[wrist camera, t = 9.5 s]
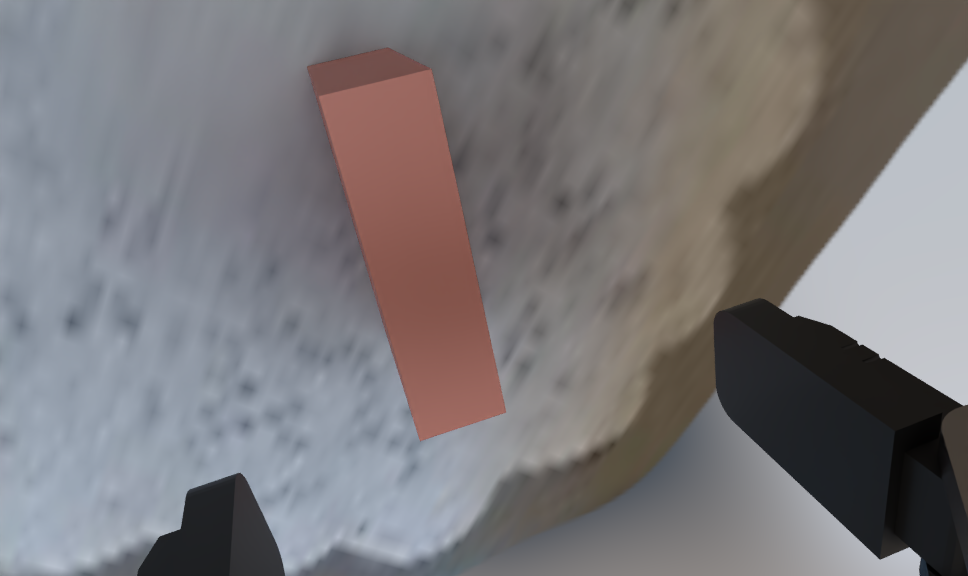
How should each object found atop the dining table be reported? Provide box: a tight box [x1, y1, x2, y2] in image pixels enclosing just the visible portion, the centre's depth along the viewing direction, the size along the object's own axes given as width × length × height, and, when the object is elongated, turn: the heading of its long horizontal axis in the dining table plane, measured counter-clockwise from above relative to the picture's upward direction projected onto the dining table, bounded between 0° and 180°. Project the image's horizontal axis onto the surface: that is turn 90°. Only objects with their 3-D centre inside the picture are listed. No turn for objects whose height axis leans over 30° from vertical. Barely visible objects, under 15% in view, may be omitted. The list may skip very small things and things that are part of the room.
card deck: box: [307, 48, 506, 441], centre depth 19 cm, size 9×2×6 cm, turn 11°
